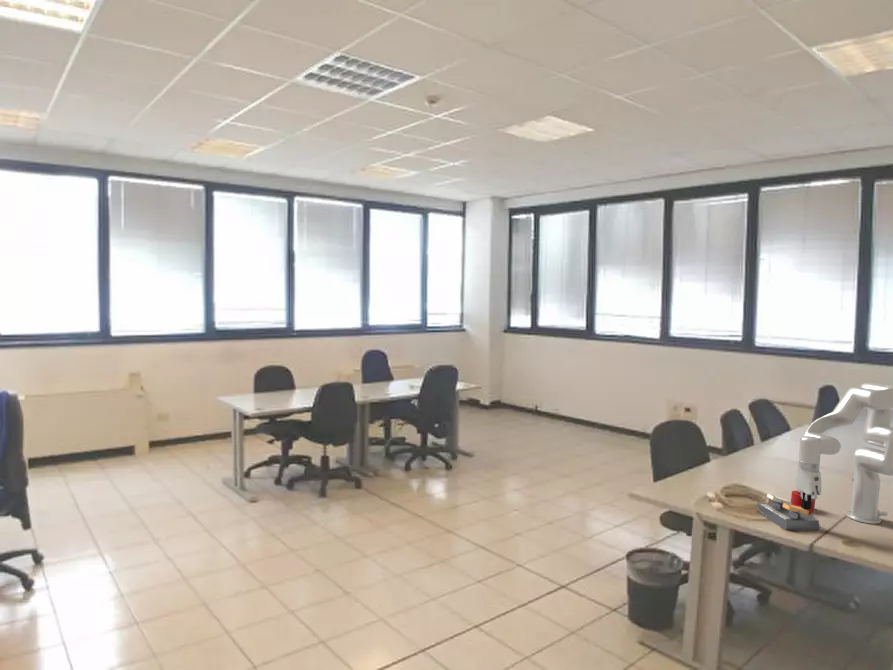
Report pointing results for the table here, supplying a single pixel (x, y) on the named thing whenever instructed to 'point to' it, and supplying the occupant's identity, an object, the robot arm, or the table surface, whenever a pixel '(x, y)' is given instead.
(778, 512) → the breaker strip
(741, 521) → the table surface
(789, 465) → the table surface
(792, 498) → the lever
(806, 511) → the breaker lever
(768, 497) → the block
